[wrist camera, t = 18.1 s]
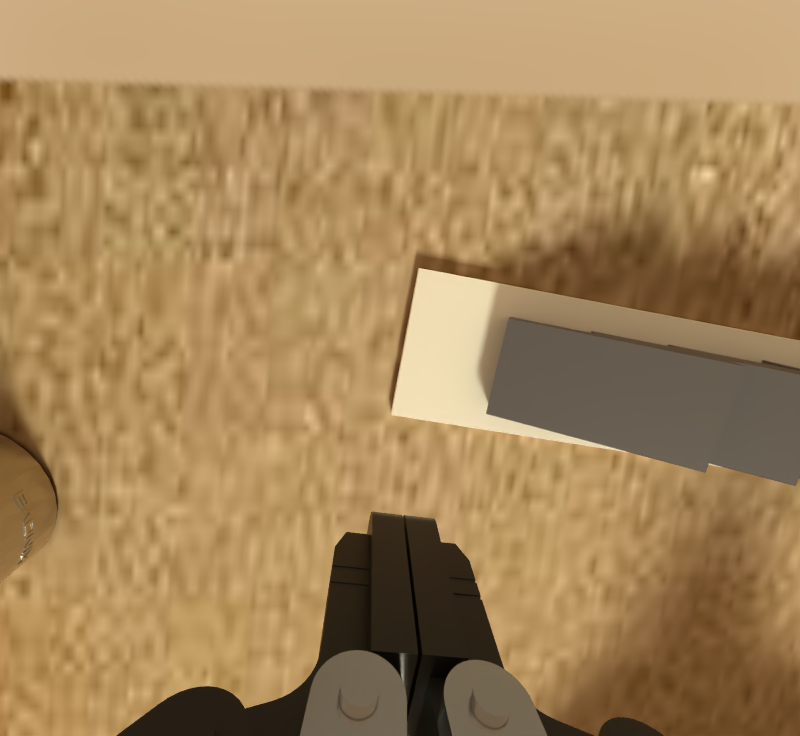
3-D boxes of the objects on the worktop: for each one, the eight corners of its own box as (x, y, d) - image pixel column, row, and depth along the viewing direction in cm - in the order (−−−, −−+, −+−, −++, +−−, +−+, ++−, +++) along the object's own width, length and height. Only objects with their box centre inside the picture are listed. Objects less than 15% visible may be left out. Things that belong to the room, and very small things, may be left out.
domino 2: (568, 426, 21) (795, 485, 19) (595, 333, 20) (842, 383, 18) (566, 417, 23) (776, 471, 20) (591, 330, 22) (818, 375, 19)
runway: (390, 411, 23) (391, 414, 22) (418, 267, 21) (419, 268, 20) (788, 474, 25) (798, 479, 25) (845, 349, 23) (857, 351, 23)
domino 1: (485, 413, 21) (705, 472, 18) (508, 318, 20) (746, 366, 17) (488, 405, 22) (692, 458, 20) (510, 316, 21) (729, 360, 19)
